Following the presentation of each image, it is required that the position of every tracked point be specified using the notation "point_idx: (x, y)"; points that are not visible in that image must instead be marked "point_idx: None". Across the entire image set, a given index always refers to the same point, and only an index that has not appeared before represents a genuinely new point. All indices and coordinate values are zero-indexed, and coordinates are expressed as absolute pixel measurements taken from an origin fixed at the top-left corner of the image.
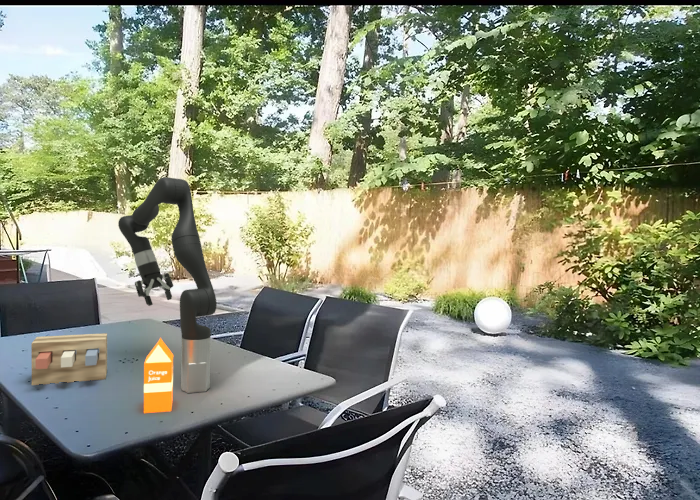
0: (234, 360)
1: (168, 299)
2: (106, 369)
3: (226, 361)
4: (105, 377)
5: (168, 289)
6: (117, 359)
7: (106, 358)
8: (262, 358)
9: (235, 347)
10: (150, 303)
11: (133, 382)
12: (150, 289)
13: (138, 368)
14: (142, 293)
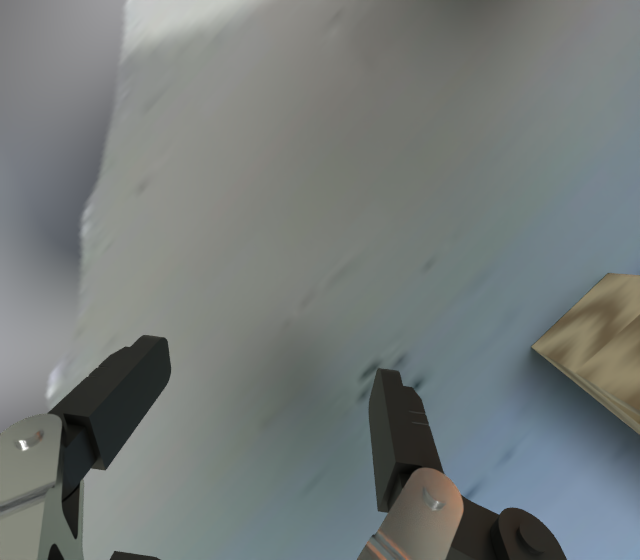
0: (201, 96)
1: (167, 364)
2: (571, 322)
3: (223, 109)
4: (613, 273)
5: (60, 418)
6: None
7: (606, 330)
8: (135, 40)
9: (91, 215)
10: (400, 382)
11: (581, 163)
12: (379, 549)
13: (445, 285)
14: (545, 544)
